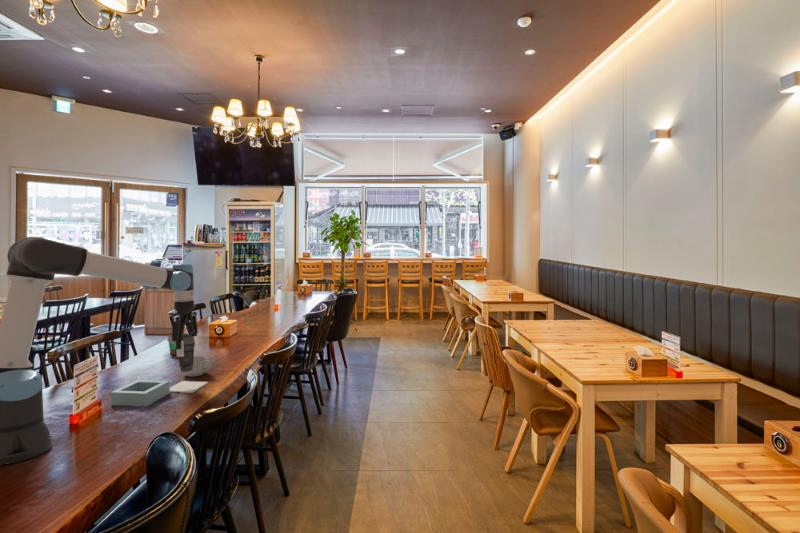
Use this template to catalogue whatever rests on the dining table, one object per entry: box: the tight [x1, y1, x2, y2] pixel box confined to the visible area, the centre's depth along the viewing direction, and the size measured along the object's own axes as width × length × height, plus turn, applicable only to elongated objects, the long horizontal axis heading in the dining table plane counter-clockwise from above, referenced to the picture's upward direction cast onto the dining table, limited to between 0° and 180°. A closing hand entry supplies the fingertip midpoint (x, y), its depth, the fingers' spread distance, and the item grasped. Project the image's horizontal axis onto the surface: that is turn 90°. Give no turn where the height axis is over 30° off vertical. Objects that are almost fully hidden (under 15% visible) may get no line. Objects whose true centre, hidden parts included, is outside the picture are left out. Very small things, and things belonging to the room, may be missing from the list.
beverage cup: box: [178, 331, 196, 373], centre depth 178 cm, size 7×7×20 cm
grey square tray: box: [110, 379, 171, 408], centre depth 166 cm, size 14×14×5 cm
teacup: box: [182, 355, 212, 377], centre depth 195 cm, size 14×11×8 cm
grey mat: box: [170, 380, 209, 394], centre depth 179 cm, size 12×12×1 cm
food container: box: [166, 334, 177, 357], centre depth 230 cm, size 12×6×10 cm, turn 73°
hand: (186, 353), depth 178 cm, fingers closed on beverage cup, 7 cm apart
